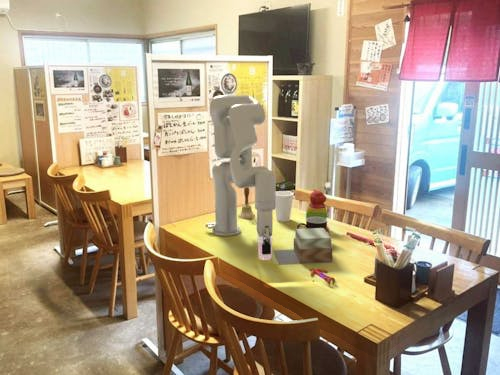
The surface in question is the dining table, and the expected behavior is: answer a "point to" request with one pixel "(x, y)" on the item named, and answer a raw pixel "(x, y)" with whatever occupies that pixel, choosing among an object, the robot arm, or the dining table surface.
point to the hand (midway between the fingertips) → (265, 249)
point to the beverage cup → (260, 242)
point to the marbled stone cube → (312, 245)
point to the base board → (289, 257)
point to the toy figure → (322, 275)
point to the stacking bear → (317, 206)
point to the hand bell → (246, 207)
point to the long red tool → (367, 240)
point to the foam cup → (283, 205)
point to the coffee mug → (315, 223)
